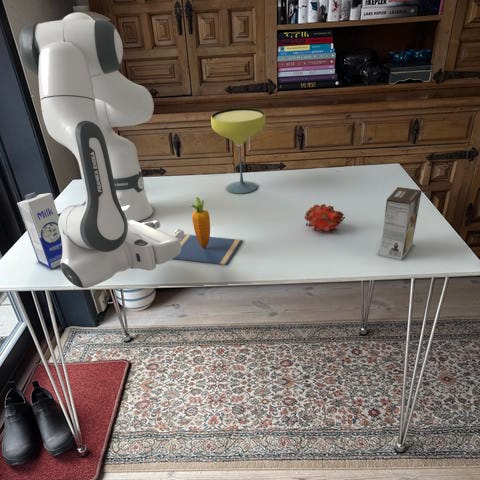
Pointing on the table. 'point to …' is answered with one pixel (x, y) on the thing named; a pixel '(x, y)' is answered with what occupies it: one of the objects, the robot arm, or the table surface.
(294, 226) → the table surface
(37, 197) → the milk carton
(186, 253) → the napkin
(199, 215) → the carrot
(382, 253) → the coffee box
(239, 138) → the cocktail glass
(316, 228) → the dragon fruit
